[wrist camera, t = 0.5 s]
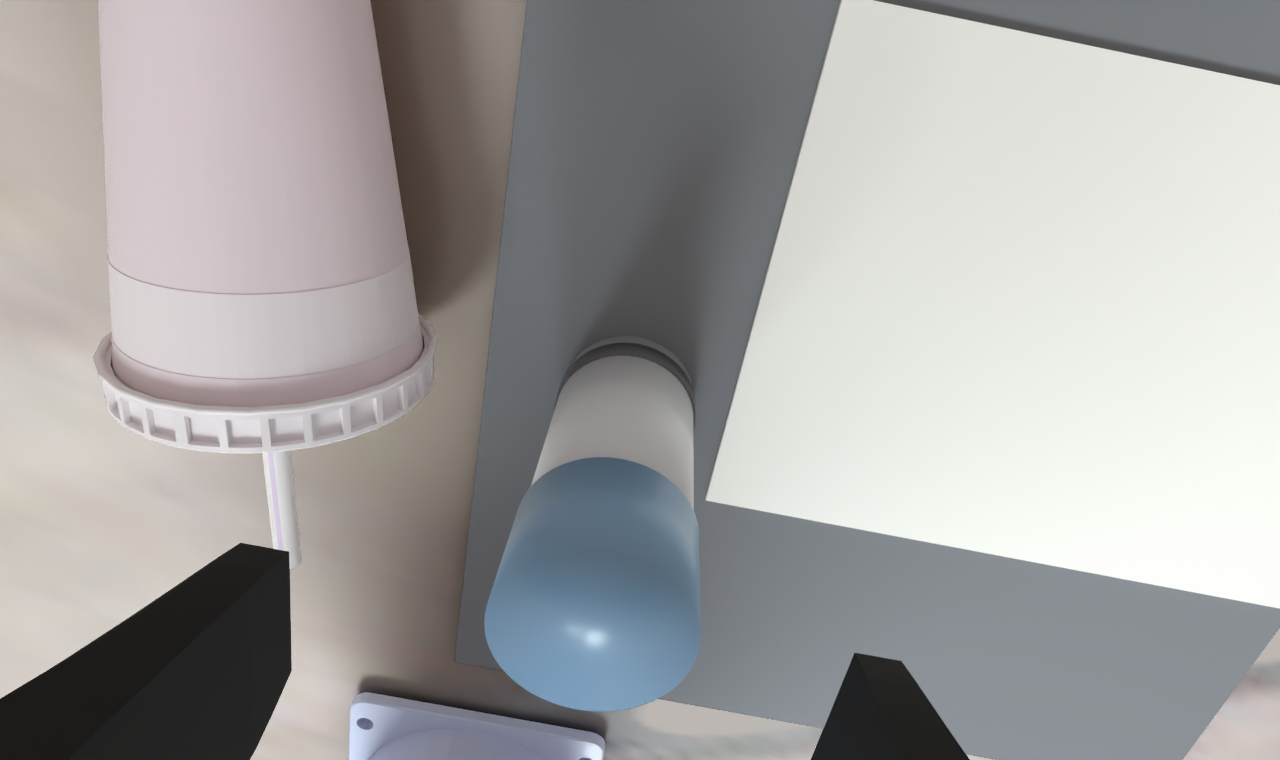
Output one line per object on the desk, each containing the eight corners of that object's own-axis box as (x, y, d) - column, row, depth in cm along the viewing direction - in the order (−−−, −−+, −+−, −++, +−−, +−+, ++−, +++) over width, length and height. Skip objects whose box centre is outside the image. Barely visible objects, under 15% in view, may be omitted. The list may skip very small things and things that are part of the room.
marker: (681, 465, 21) (675, 726, 14) (550, 440, 21) (475, 690, 13) (711, 346, 19) (722, 571, 12) (569, 319, 19) (496, 529, 12)
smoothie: (357, -180, 10) (393, 659, 16) (469, -114, 16) (465, 486, 22) (-157, -237, 10) (69, 629, 16) (144, -150, 16) (227, 462, 22)
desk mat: (1155, 780, 25) (1160, 789, 25) (456, 654, 24) (454, 662, 24) (1706, 22, 15) (1725, 22, 15) (555, -227, 15) (552, -231, 14)
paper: (1294, 607, 22) (1298, 612, 21) (705, 497, 21) (705, 500, 21) (1625, 158, 16) (1633, 159, 16) (842, -7, 16) (843, -7, 15)
